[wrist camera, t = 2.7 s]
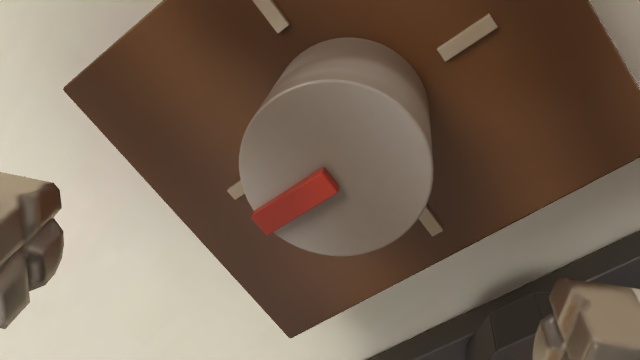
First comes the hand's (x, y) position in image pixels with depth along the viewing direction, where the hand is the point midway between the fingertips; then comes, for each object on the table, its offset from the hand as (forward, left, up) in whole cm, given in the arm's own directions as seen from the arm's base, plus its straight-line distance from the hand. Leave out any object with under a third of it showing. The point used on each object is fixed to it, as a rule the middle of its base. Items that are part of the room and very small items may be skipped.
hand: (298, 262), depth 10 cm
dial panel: (0, 0, -10) cm, 10 cm away
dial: (0, 0, -6) cm, 6 cm away
